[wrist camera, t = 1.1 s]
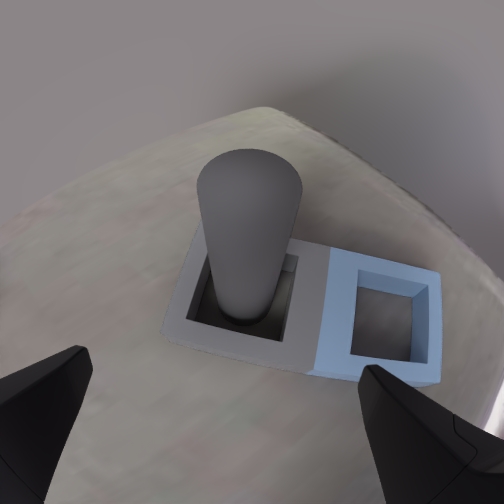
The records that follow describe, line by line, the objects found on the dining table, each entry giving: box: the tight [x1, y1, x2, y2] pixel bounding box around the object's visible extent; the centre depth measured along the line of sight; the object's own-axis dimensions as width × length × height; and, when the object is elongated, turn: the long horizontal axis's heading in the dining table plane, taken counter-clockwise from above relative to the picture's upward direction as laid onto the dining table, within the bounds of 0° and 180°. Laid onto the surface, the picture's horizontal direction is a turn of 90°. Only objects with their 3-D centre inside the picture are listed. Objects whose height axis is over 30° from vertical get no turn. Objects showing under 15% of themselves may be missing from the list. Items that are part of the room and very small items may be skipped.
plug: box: [197, 149, 302, 326], centre depth 18 cm, size 4×4×14 cm
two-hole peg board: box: [160, 219, 442, 387], centre depth 22 cm, size 22×10×3 cm, turn 77°
